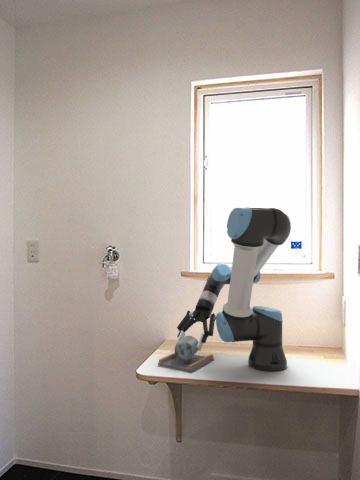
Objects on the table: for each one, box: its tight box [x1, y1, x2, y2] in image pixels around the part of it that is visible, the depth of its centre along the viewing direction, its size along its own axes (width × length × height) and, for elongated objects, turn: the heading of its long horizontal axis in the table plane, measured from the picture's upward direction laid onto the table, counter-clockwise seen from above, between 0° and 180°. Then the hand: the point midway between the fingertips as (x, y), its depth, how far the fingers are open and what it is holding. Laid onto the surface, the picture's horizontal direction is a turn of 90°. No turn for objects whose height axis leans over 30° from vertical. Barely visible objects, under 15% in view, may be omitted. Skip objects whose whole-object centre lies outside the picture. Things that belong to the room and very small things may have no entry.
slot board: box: [157, 352, 215, 374], centre depth 156 cm, size 16×18×2 cm
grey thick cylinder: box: [174, 335, 199, 361], centre depth 156 cm, size 14×10×10 cm
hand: (187, 347), depth 157 cm, fingers closed on grey thick cylinder, 9 cm apart
